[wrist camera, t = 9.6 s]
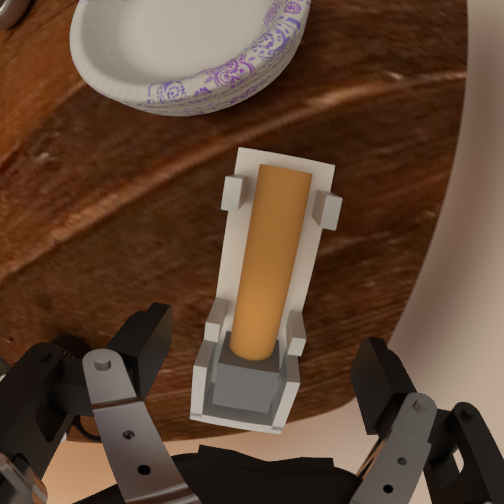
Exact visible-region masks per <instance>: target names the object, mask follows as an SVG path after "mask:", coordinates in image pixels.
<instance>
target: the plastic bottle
mask: <svg viewBox="0 0 504 504" xmlns="http://www.w3.org/2000/svg"><path fill="white" fill-rule="evenodd" d="M30 2H31V0H0V30H5V29H8V28H10V27H12V26H13V25H15V24H16V23H17V22H18V21H19V20H20V19H21V17H22V16H23V15H24V13H25V12H26V10H27V8H28V6H29V4H30Z"/></svg>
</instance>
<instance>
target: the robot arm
mask: <svg viewBox="0 0 504 504" xmlns="http://www.w3.org/2000/svg"><path fill="white" fill-rule="evenodd" d="M172 311H173V310H172V306H171V305H166V304H161V303H157V302H154V303H153V304H152V305H151V306H150V308H149V309H148V310H147V312H143V311H139V312H137V313H135V314H133V315H131V316H130V317H129V318H128V319H127V321H126V322H125V324H123V326H122V327H121V328H120V330H119V331H118V332H117V333H116V334H115V336H114V337H113V338H112V340H111V341H110V342H109V343H108V345H107V346H106V347H105V348H104V349H96V350H93V351H90V352H89V353H87V354H86V355H85V356H84V358H83V359H78V358H69V357H63V356H62V352H61V349H60V348H59V347H58V346H57V345H55V344H52V343H48V342H44V343H38V344H35V345H33V346H32V347H31V348H29V349H28V351H27V352H26V353H25V354H24V355H23V356H22V357H21V358H20V359H19V360H18V362H17V363H16V364H15V365H14V366H13V367H12V368H11V370H10V371H9V372H8V373H7V374H6V375H5V376H4V378H3V379H2V380H1V381H0V504H46V502H47V497H48V496H47V495H48V494H47V489H46V487H45V485H44V483H43V482H42V481H41V480H42V477H43V475H44V473H45V471H46V469H47V467H48V465H49V463H50V461H51V459H52V457H53V455H54V453H55V451H56V449H57V448H58V445H59V444H60V442H61V440H62V438H63V436H64V434H65V432H66V431H67V429H68V427H69V425H70V423H71V421H72V420H73V418H74V416H75V415H82V416H91V417H95V421H96V424H97V427H98V431H99V434H100V437H101V440H102V443H103V447H104V450H105V452H106V455H107V458H108V461H109V464H110V466H111V469H112V471H113V474H114V477H115V479H116V482H117V484H115V485H113V486H111V487H109V488H107V489H105V490H102V491H100V492H98V493H96V494H94V495H91V496H89V497H87V498H85V499H82V500H80V501H77V502H75V503H73V504H408V503H409V501H410V499H411V497H412V495H413V492H414V490H415V488H416V485H417V483H418V481H419V478H420V476H421V473H422V470H423V472H424V475H425V479H426V482H427V486H428V490H429V494H430V498H431V501H432V504H504V459H503V457H502V455H501V453H500V451H499V449H498V447H497V445H496V443H495V441H494V439H493V437H492V435H491V433H490V431H489V429H488V427H487V425H486V423H485V422H484V420H483V418H482V416H481V414H480V412H479V411H478V410H477V408H475V407H474V406H473V405H471V404H469V403H466V402H459V403H457V404H456V405H455V406H454V408H453V409H452V411H447V410H442V409H437V406H436V404H435V402H434V401H433V400H432V399H431V398H430V397H429V396H427V395H425V394H422V393H418V392H417V391H416V389H415V387H414V385H413V383H412V381H411V379H410V377H409V375H408V374H407V373H406V370H405V368H404V367H403V364H402V362H401V360H400V359H399V357H398V356H397V355H396V354H395V353H394V352H393V351H391V350H389V349H388V348H387V346H386V344H385V342H384V340H383V339H382V338H376V337H365V338H364V339H363V340H362V342H361V345H360V347H359V350H358V352H357V355H356V357H355V359H354V362H353V364H352V367H351V381H352V384H353V387H354V391H355V394H356V397H357V401H358V404H359V407H360V411H361V414H362V418H363V422H364V425H365V429H366V432H367V435H377V434H378V436H379V439H378V440H377V441H376V443H375V444H374V446H373V448H372V449H371V451H370V453H369V454H368V456H367V458H366V459H365V461H364V462H363V464H362V466H361V467H360V468H359V470H358V471H357V473H356V474H353V473H351V472H349V471H346V470H344V469H341V468H338V467H334V463H333V458H311V457H300V458H293V459H287V460H279V461H270V462H269V461H263V460H260V459H257V458H254V457H251V456H248V455H245V454H242V453H239V452H236V451H234V450H228V449H222V448H216V447H210V446H205V445H199V450H198V453H186V454H180V455H174V456H171V457H170V455H169V453H168V451H167V450H166V448H165V446H164V444H163V442H162V440H161V438H160V436H159V434H158V432H157V430H156V428H155V426H154V424H153V422H152V420H151V418H150V416H149V414H148V411H147V409H146V407H145V405H144V401H145V399H146V396H147V394H148V392H149V390H150V388H151V386H152V384H153V382H154V380H155V378H156V376H157V374H158V372H159V370H160V368H161V365H162V363H163V361H164V359H165V357H166V355H167V353H168V351H169V349H170V345H171V339H172ZM458 448H459V451H460V453H461V455H462V458H463V461H464V466H463V469H462V471H461V472H460V473H459V470H458V467H457V465H456V462H455V459H454V457H453V454H454V453H455V452H456V450H457V449H458Z"/></svg>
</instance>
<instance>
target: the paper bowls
mask: <svg viewBox="0 0 504 504" xmlns="http://www.w3.org/2000/svg"><path fill="white" fill-rule="evenodd" d="M310 3H311V0H80V1H79V3H78V5H77V8H76V10H75V13H74V16H73V20H72V24H71V29H70V49H71V55H72V59H73V62H74V64H75V66H76V68H77V70H78V72H79V73H80V75H81V77H82V78H83V79H84V80H85V81H86V82H87V83H88V84H89V85H90V86H91V87H92V88H93V89H95V90H96V91H97V92H99V93H100V94H103V95H104V96H106V97H108V98H111V99H114V100H116V101H119V102H121V103H123V104H125V105H127V106H131V107H133V108H136V109H139V110H142V111H146V112H150V113H154V114H159V115H166V116H192V115H200V114H206V113H211V112H214V111H218V110H221V109H224V108H227V107H230V106H232V105H235V104H237V103H239V102H241V101H243V100H246V99H247V98H249V97H250V96H252V95H254V94H256V93H257V92H259V91H260V90H262V89H263V88H265V87H266V86H267V85H269V84H270V83H271V82H272V81H274V80H275V79H276V78H277V77H278V76H279V75H280V74H281V72H282V71H283V70H284V69H285V67H286V66H287V65H288V64H289V62H290V61H291V59H292V58H293V56H294V54H295V52H296V50H297V48H298V46H299V44H300V41H301V38H302V36H303V32H304V29H305V25H306V20H307V18H308V13H309V8H310Z"/></svg>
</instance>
